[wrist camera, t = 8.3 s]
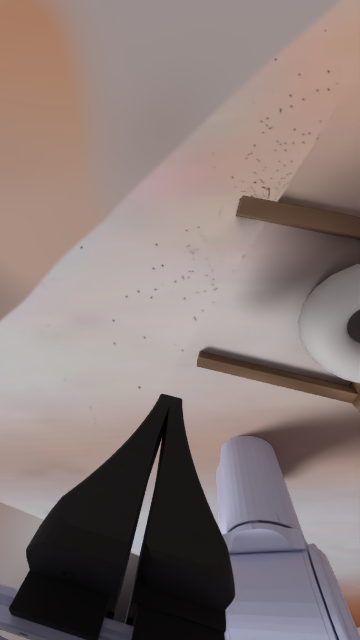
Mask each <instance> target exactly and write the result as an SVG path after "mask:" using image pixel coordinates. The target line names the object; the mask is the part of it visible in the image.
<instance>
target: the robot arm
mask: <svg viewBox="0 0 360 640" xmlns="http://www.w3.org/2000/svg"><path fill="white" fill-rule="evenodd" d="M161 439H162V442H161ZM160 442H161V449H160V456H159V463H158V470H157V477H156V482H155V488H154V493H153V497H152V502H151V506H150V511H149V516H148V520H147V525H146V529H145V534H144V539H143V543H142V548H141V552H140V557H139V561H138V566H137V571H136V575H135V580H134V584H133V589H132V594H131V598H130V603H129V607H128V611H127V616H126V620H125V624H124V623H121V622H118V621H115V620H113V617H114V613H115V610H116V609H117V605H118V600H119V597H120V593H121V588H122V585H123V581H124V576H125V572H126V568H127V564H128V560H129V555H130V552H131V548H132V544H133V540H134V536H135V532H136V527H137V523H138V519H139V515H140V511H141V507H142V503H143V499H144V495H145V491H146V487H147V483H148V480H149V476H150V473H151V470H152V467H153V464H154V461H155V458H156V455H157V452H158V448H159V445H160ZM216 477H217V498H218V518H219V526H220V529H219V527H218V525H217V523H216V521H215V519H214V516H213V514H212V512H211V509H210V507H209V505H208V502H207V500H206V497H205V494H204V492H203V489H202V487H201V484H200V481H199V479H198V476H197V473H196V470H195V466H194V463H193V460H192V456H191V453H190V449H189V445H188V441H187V436H186V431H185V426H184V420H183V411H182V399H181V398H177V397H173V396H169V395H165V394H161V395H160V397H159V399H158V401H157V402H156V404H155V406H154V407H153V409H152V410H151V412H150V413H149V415H148V416H147V417H146V419H145V420H144V421H143V423H142V424H141V425H140V426H139V427H138V429H137V430H136V431H135V432H134V433H133V435H132V436H131V437H130V438H129V439H128V440H127V441H126V442H125V443H124V444H123V445H122V446H121V447H120V448H119V449H118V450H117V451H116V452H115V453H114V454H113V455H112V456H111V457H110V458H109V459H108V460H107V461H106V462H105V463H104V464H102V465H101V466H100V467H99V468H98V469H97V470H95V471H94V472H93V473H92V474H91V475H90V476H89V477H87V478H86V479H85V480H84V481H82V482H81V483H80V484H78V485H77V486H76V487H74V488H73V489H72V490H71V491H69V492H68V493H67V494H65V495H64V496H63V497H62V498H61V499H60V500H59V501H58V502H57V504H56V505H55V506H54V507H53V509H52V510H51V511H50V513H49V514H48V515H47V517H46V518H45V520H44V521H43V522H42V524H41V525H40V527H39V529H38V530H37V532H36V534H35V535H34V537H33V539H32V540H31V542H30V544H29V545H28V547H27V549H26V556H27V561H28V564H29V568H30V571H29V572H28V574H27V576H26V578H25V580H24V582H23V583H22V585H21V587H20V589H19V590H18V589H15V588H12V587H9V586H6V585H3V584H0V630H3V631H6V632H9V633H12V634H15V635H18V636H21V637H24V638H27V639H30V640H360V636H359V633H358V631H357V628H356V626H355V623H354V621H353V618H352V616H351V613H350V611H349V608H348V606H347V604H346V601H345V599H344V596H343V594H342V591H341V589H340V587H339V584H338V582H337V579H336V577H335V575H334V572H333V570H332V568H331V565H330V563H329V561H328V559H327V557H326V555H325V554H324V553H323V552H322V551H321V550H320V549H318V548H317V546H316V545H315V544H309V545H308V544H307V542H306V540H305V538H304V536H303V533H302V530H301V527H300V524H299V521H298V518H297V515H296V512H295V510H294V507H293V504H292V501H291V498H290V495H289V492H288V489H287V486H286V483H285V481H284V478H283V475H282V472H281V469H280V466H279V463H278V460H277V457H276V454H275V451H274V449H273V447H272V446H271V445H270V444H269V443H268V442H267V441H265V440H263V439H261V438H258V437H254V436H238V437H234V438H232V439H230V440H228V441H226V442H225V443H224V444H223V446H222V448H221V461H220V463H219V466H218V468H217V471H216ZM220 530H221V532H220ZM0 640H8V639H6V638H3V637H1V636H0Z"/></svg>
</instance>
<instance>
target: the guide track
mask: <svg viewBox="0 0 360 640" xmlns="http://www.w3.org/2000/svg"><path fill="white" fill-rule="evenodd" d="M236 216H239V217H245V218H250V219H255V220H260V221H265V222H270V223H276V224H281V225H286V226H291V227H296V228H301V229H307V230H312V231H317V232H322V233H327V234H333V235H338V236H343V237H348V238H353V239H358V240H360V217H355V216H350V215H345V214H339V213H334V212H329V211H323V210H318V209H313V208H307V207H302V206H297V205H291V204H286V203H281V202H275V201H270V200H265V199H259V198H254V197H249V196H242V198H241V199H240V203H239V206H238V210H237V214H236ZM197 366H198V367H202V368H206V369H210V370H214V371H219V372H223V373H227V374H231V375H235V376H240V377H244V378H248V379H252V380H256V381H261V382H265V383H269V384H273V385H277V386H282V387H286V388H290V389H294V390H298V391H302V392H307V393H311V394H315V395H319V396H323V397H328V398H332V399H336V400H340V401H344V402H349V403H352V404H353V405H354V406H355V407H356V408H357V409H358V410H359V411H360V383H356V382H352V384H351V385H350V386H346V385H341V384H337V383H333V382H329V381H324V380H320V379H316V378H311V377H307V376H303V375H299V374H294V373H290V372H286V371H281V370H277V369H273V368H269V367H264V366H260V365H256V364H252V363H247V362H243V361H239V360H234V359H230V358H226V357H222V356H217V355H213V354H209V353H205V352H199V356H198V360H197Z"/></svg>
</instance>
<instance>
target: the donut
mask: <svg viewBox="0 0 360 640" xmlns="http://www.w3.org/2000/svg"><path fill="white" fill-rule="evenodd" d="M359 309H360V264H355V265H353V266H351V267H349V268H346V269H344V270H342V271H340V272H337V273H335V274H333V275H331V276H330V277H329V278H327V279H326V280H325V281H324V282H322V283H321V284H320V285H318V286H317V287H316V288H315V289H314V290H313V291H312V293H311V294H310V295H309V297H308V298H307V300H306V301H305V303H304V304H303V306H302V310H301V314H300V317H299V321H298V324H299V334H300V340H301V342H302V344H303V346H304V348H305V350H306V351H307V353H308V355H309V356H310V357H311V358H312V359H313V360H314V361H316V362H317V363H318V364H319V365H320V366H321V367H322V368H323V369H325V370H327V371H328V372H330V373H332V374H334V375H336V376H338V377H340V378H342V379H344V380H348V381H352V382H356V383H360V343H359V342H356V341H354V340H353V339H352V338H351V337H350V336H349V334H348V332H347V324H348V321H349V319H350V317H351V316H352V315H353V314H354V313H355V312H356V311H358V310H359Z"/></svg>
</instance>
